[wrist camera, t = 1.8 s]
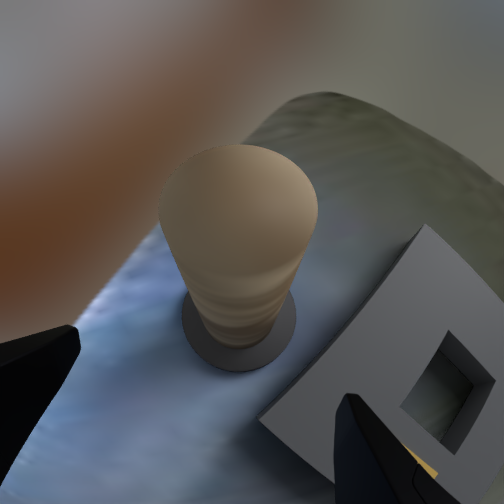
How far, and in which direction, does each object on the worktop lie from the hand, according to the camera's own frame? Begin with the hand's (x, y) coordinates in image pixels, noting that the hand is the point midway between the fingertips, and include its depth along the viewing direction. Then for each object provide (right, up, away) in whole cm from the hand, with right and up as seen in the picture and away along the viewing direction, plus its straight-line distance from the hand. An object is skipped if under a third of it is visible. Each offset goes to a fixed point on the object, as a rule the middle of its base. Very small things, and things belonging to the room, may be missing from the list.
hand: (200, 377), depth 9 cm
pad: (+1, -1, +13) cm, 13 cm away
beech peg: (+1, -1, +12) cm, 12 cm away
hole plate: (+16, -8, +10) cm, 20 cm away
